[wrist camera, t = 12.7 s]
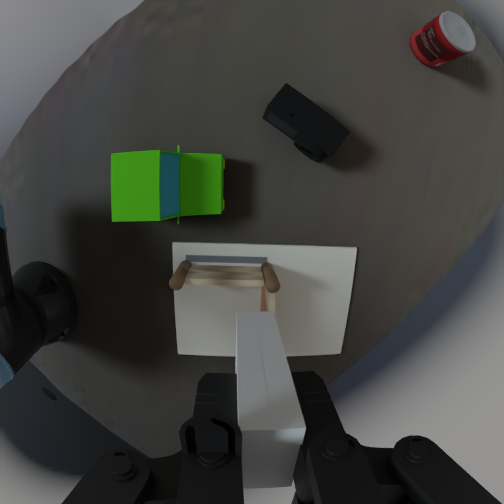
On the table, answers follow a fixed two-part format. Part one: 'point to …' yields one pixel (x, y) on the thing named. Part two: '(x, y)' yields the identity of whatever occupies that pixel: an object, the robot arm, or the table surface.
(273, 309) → the fence gate
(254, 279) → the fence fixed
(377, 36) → the table surface
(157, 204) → the toy car
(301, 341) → the card
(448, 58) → the canned food
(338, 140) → the digital camera
